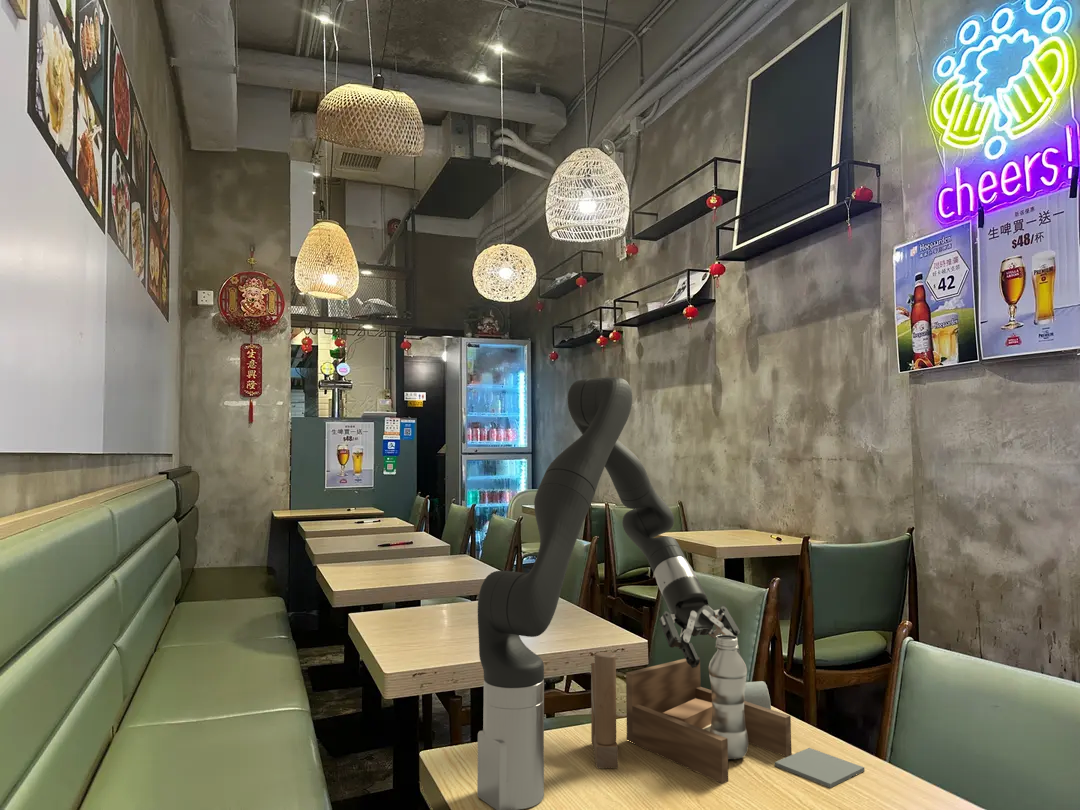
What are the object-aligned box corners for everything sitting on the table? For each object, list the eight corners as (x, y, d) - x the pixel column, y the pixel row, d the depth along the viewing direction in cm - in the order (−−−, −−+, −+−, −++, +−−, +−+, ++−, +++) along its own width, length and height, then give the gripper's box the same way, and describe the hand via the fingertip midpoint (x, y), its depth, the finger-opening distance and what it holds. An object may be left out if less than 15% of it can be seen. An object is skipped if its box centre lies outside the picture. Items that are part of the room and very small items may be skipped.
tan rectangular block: (681, 756, 122) (680, 720, 123) (656, 747, 126) (656, 712, 127) (721, 738, 130) (720, 705, 131) (696, 730, 134) (696, 698, 135)
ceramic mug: (721, 714, 142) (721, 675, 143) (763, 715, 142) (762, 676, 142) (732, 736, 132) (731, 693, 132) (777, 737, 131) (776, 694, 131)
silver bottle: (701, 752, 123) (699, 635, 125) (732, 746, 126) (729, 631, 128) (725, 767, 118) (723, 643, 119) (757, 760, 120) (754, 639, 122)
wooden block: (611, 743, 128) (610, 640, 129) (618, 769, 117) (617, 657, 118) (590, 743, 128) (590, 640, 129) (596, 769, 117) (595, 657, 118)
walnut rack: (722, 783, 112) (720, 704, 113) (626, 740, 129) (626, 672, 130) (791, 754, 123) (789, 683, 124) (695, 718, 140) (694, 656, 141)
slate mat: (830, 787, 110) (830, 783, 110) (774, 765, 118) (774, 762, 118) (864, 771, 116) (864, 767, 116) (809, 751, 124) (809, 747, 124)
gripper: (654, 576, 132) (691, 655, 121) (718, 572, 138) (759, 647, 126) (640, 600, 137) (674, 678, 125) (703, 595, 142) (740, 669, 131)
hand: (716, 662), depth 126 cm, fingers open, 8 cm apart
